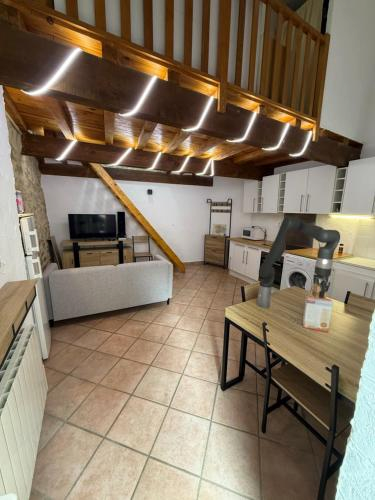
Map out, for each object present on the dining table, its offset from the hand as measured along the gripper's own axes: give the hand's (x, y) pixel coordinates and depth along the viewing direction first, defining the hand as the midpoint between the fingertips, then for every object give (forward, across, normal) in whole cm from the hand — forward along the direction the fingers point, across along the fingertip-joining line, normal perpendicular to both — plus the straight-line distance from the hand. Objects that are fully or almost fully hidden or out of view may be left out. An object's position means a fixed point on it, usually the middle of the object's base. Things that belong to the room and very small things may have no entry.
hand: (318, 295), depth 113 cm
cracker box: (+29, -17, +9) cm, 35 cm away
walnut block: (+1, 0, 0) cm, 1 cm away
